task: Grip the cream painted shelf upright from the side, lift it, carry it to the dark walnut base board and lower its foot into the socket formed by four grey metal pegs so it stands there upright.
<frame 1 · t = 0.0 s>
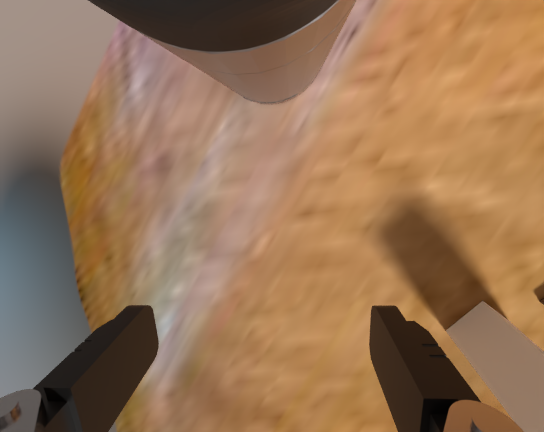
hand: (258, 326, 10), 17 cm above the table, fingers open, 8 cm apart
shelf upright: (476, 325, 29), on the table
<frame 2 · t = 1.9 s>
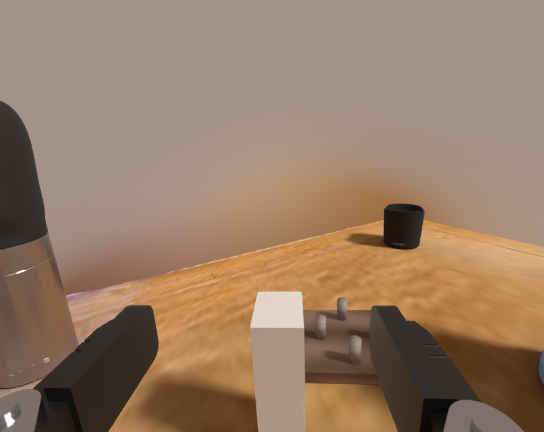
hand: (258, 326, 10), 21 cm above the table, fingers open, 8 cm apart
peg base: (347, 346, 37), on the table
pen holder: (400, 244, 72), on the table
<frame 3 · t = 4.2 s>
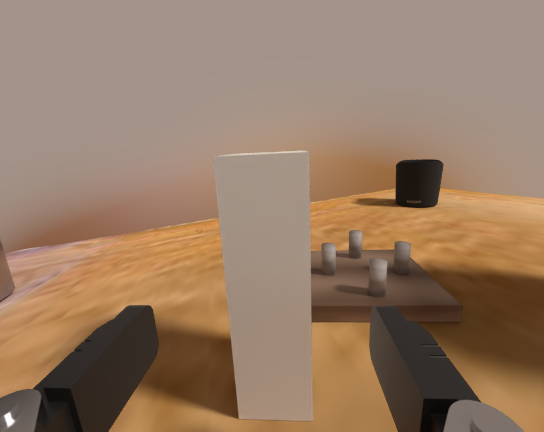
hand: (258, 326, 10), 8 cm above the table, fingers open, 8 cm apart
peg base: (363, 285, 28), on the table
shelf upright: (277, 381, 17), on the table
pen holder: (415, 204, 63), on the table
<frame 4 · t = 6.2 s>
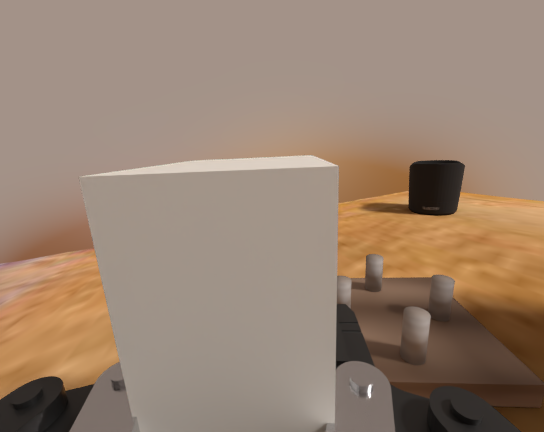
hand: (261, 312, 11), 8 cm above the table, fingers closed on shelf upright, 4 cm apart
peg base: (387, 332, 21), on the table
pen holder: (431, 211, 56), on the table
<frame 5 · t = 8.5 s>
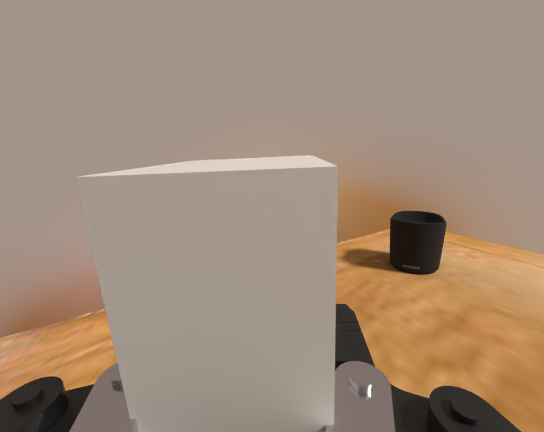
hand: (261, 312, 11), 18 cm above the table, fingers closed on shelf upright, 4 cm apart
pen holder: (413, 266, 53), on the table
when the fingers open (11 cm above the table, at t = 11.1 s): shelf upright drops 1 cm, resting on peg base.
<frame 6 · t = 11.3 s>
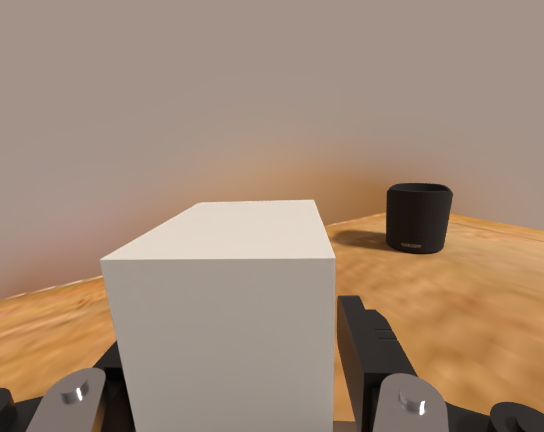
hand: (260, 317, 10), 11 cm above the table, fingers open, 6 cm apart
pen holder: (413, 246, 46), on the table
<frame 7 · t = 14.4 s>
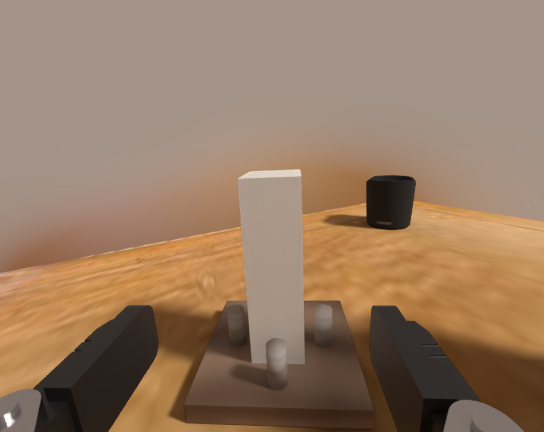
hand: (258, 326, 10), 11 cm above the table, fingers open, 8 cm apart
peg base: (280, 355, 23), on the table
shelf upright: (279, 340, 23), point 1 cm above the table, touching peg base
pen holder: (387, 224, 58), on the table
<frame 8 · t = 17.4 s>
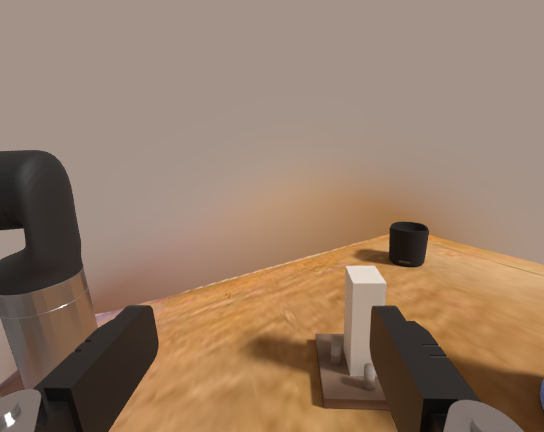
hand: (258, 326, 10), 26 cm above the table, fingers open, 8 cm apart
peg base: (360, 370, 39), on the table
shelf upright: (360, 362, 39), point 1 cm above the table, touching peg base
pen holder: (406, 261, 75), on the table
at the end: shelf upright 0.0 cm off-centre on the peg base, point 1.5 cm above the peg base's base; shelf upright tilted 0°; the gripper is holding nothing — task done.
